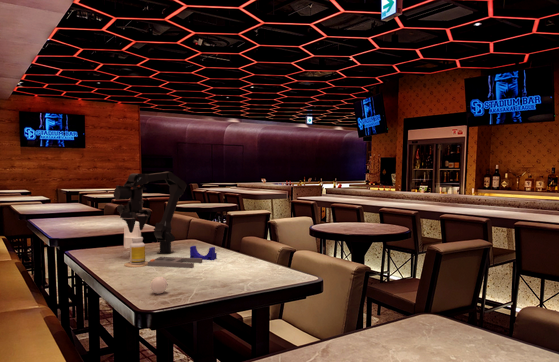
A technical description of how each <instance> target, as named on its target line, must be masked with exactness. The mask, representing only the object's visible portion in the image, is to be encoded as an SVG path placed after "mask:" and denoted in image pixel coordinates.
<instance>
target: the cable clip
mask: <svg viewBox="0 0 559 362" xmlns="http://www.w3.org/2000/svg"><path fill="white" fill-rule="evenodd" d="M197 249H198V248H197V245H192V246H189V258H202V261H214V260H216V259H217V254H218V253H217V252H216V247H215V246H211V247H209V250H208V251H207V254H205V255H204V254H201V253H200V252H199V251H198V250H197Z"/></svg>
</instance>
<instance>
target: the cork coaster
mask: <svg viewBox="0 0 559 362" xmlns="http://www.w3.org/2000/svg"><path fill="white" fill-rule="evenodd" d="M148 262H149V261H147V260H145V263H143V264H131V263H130V261H129V262H125V263H124V267H126V268H141V267H148Z"/></svg>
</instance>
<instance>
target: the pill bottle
mask: <svg viewBox="0 0 559 362" xmlns="http://www.w3.org/2000/svg"><path fill="white" fill-rule="evenodd" d="M143 240H144V237H143V236H141V237H133V238H132V241H133V243H132V244H130V249H129V262H130V263H131V264H143V263H145V261H146V244H145V243H144V242H143Z"/></svg>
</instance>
